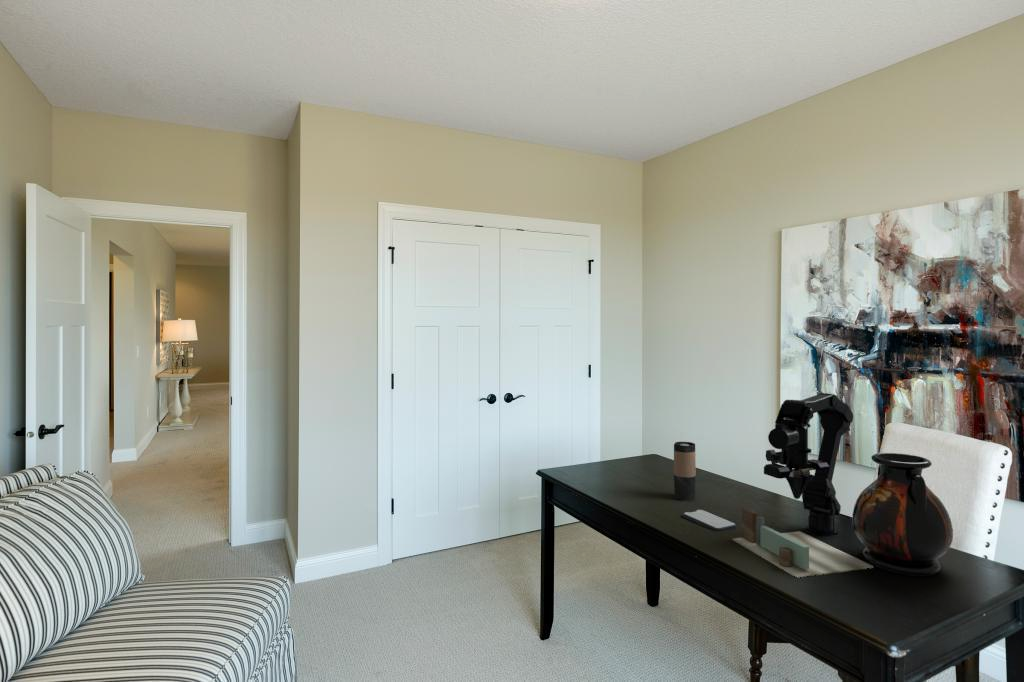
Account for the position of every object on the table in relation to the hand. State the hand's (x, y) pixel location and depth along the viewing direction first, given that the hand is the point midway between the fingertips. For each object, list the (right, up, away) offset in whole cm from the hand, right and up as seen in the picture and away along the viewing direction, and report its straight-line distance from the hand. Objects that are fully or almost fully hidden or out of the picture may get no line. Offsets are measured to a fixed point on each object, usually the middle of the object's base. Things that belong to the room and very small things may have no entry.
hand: (796, 498), depth 161 cm
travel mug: (-18, -13, +44) cm, 50 cm away
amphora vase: (+20, -13, -15) cm, 28 cm away
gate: (-9, -12, -10) cm, 19 cm away
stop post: (-11, -13, -15) cm, 23 cm away
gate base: (-3, -13, -7) cm, 15 cm away
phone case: (-19, -14, +19) cm, 30 cm away
